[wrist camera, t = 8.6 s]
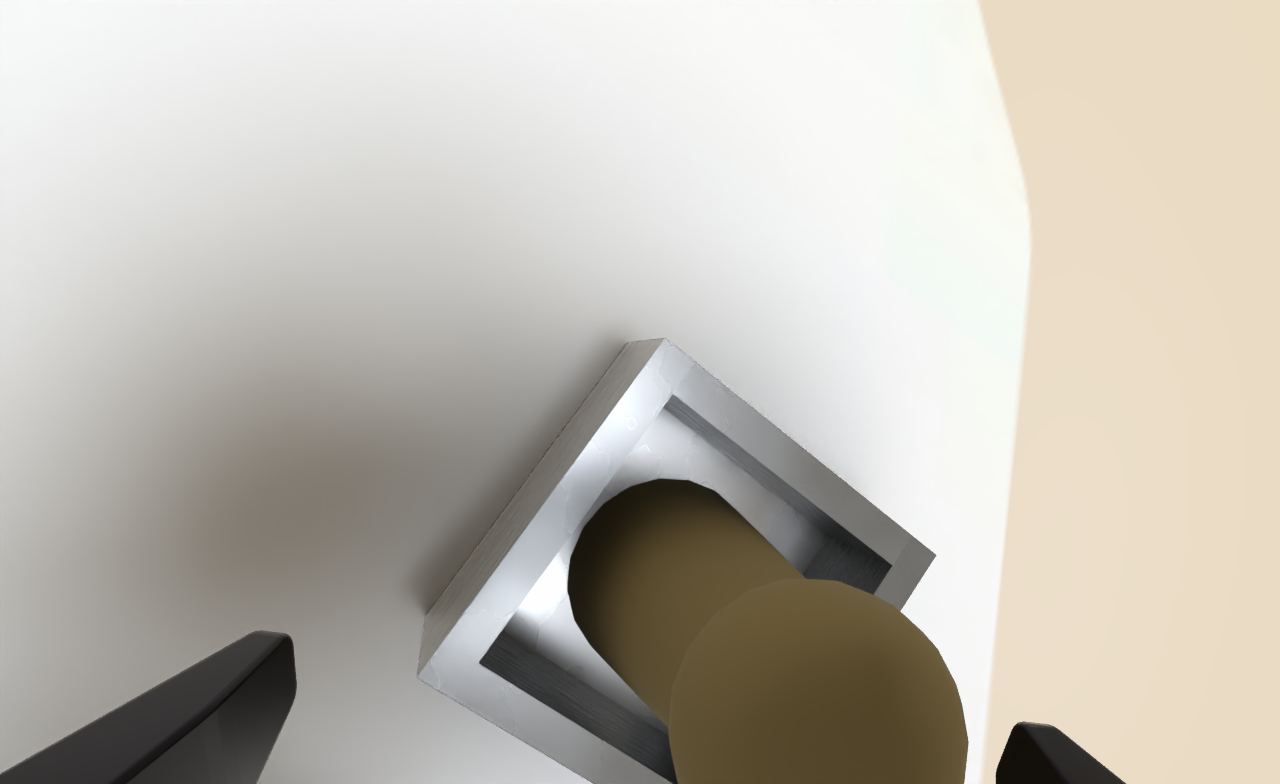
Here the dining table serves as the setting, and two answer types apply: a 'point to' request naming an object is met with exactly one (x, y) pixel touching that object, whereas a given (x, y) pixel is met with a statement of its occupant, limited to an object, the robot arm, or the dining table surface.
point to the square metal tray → (564, 503)
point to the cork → (758, 651)
